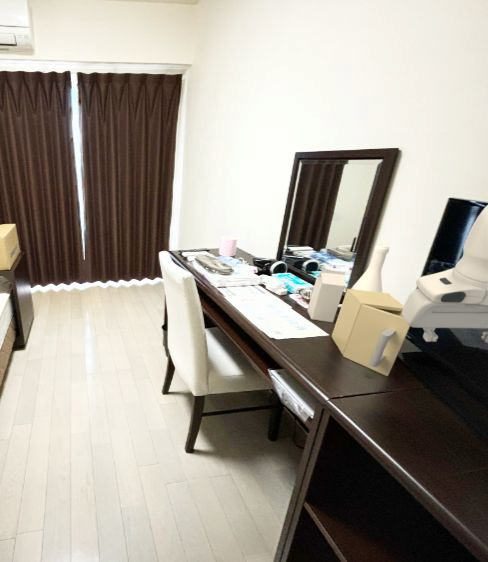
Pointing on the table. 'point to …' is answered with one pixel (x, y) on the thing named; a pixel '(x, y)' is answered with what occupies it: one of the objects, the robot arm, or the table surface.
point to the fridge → (352, 309)
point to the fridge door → (376, 339)
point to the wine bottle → (373, 271)
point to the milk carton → (326, 295)
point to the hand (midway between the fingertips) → (457, 340)
